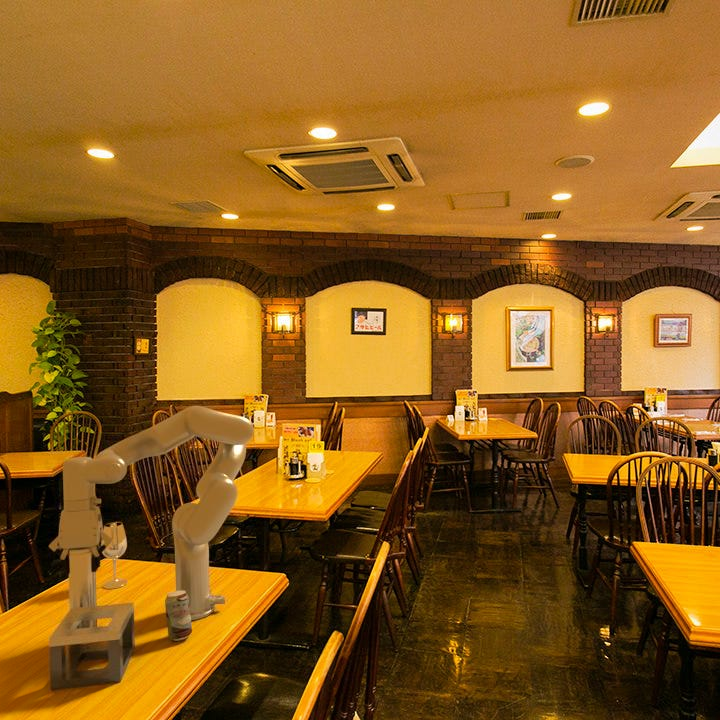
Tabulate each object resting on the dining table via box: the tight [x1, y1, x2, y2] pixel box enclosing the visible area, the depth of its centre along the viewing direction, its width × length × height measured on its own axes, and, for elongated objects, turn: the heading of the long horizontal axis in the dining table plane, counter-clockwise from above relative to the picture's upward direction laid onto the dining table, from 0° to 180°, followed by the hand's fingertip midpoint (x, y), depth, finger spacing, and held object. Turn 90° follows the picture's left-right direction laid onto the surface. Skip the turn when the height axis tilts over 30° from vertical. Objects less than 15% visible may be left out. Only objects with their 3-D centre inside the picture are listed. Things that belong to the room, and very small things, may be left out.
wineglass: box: [100, 521, 128, 590], centre depth 185 cm, size 8×8×20 cm
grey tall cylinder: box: [68, 547, 98, 646], centre depth 149 cm, size 6×6×25 cm
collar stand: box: [48, 601, 136, 691], centre depth 135 cm, size 15×15×12 cm
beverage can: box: [164, 590, 193, 642], centre depth 149 cm, size 6×7×12 cm
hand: (81, 570), depth 149 cm, fingers closed on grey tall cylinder, 6 cm apart
